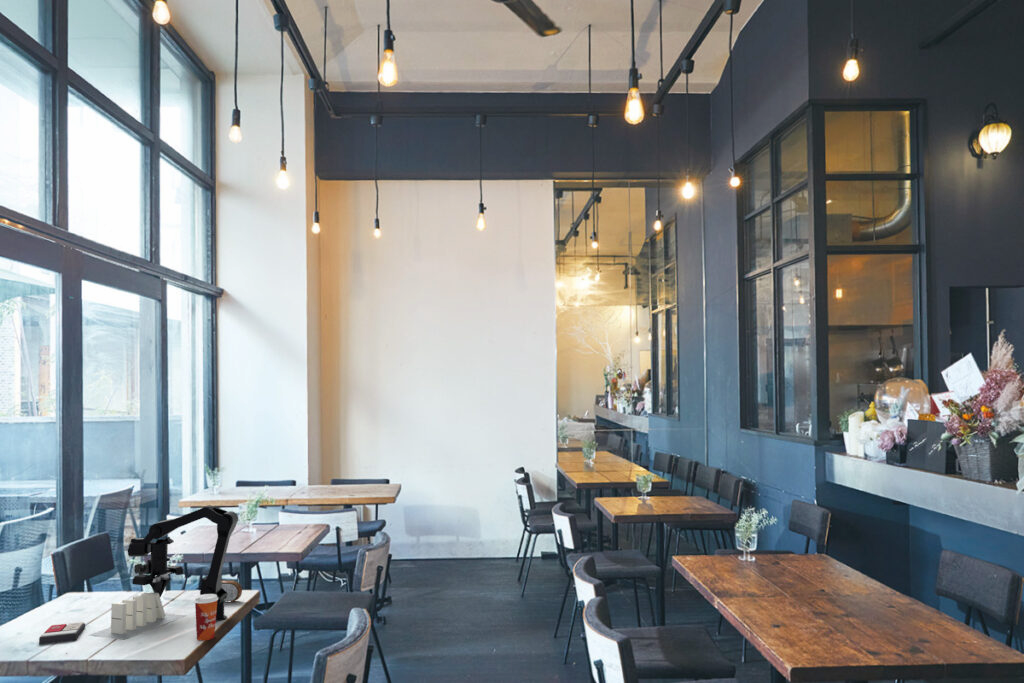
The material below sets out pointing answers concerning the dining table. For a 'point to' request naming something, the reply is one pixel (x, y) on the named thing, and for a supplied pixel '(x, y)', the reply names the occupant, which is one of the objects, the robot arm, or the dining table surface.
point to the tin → (232, 590)
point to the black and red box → (62, 633)
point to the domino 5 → (158, 606)
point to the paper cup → (206, 616)
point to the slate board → (138, 628)
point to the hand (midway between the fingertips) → (158, 598)
